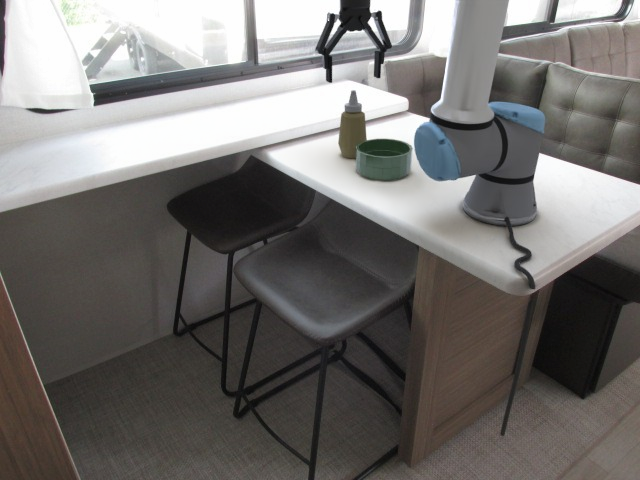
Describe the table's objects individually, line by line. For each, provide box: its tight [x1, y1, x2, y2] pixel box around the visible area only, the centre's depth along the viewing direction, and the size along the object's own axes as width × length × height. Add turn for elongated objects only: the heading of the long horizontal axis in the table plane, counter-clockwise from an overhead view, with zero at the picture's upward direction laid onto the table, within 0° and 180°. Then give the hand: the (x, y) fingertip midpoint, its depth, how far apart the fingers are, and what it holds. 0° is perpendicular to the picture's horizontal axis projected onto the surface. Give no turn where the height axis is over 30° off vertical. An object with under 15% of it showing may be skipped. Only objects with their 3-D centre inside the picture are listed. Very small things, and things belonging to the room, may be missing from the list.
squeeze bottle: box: [337, 89, 368, 159], centre depth 140 cm, size 8×8×18 cm
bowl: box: [355, 138, 414, 182], centre depth 132 cm, size 14×14×6 cm
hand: (353, 79), depth 134 cm, fingers open, 13 cm apart
